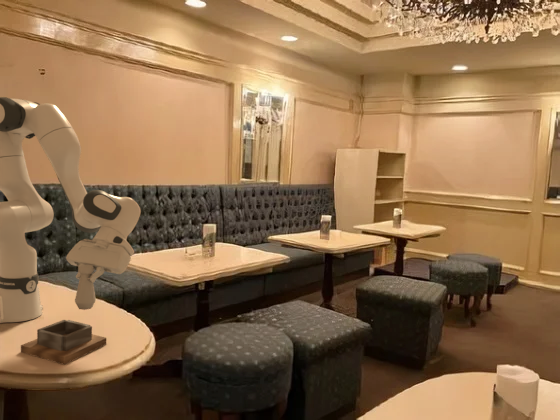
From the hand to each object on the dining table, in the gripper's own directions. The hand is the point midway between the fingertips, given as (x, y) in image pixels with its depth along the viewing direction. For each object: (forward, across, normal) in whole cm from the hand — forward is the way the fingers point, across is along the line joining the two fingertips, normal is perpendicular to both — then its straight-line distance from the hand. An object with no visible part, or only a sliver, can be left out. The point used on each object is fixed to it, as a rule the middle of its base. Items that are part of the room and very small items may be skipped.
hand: (84, 279), depth 145 cm
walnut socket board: (+18, -1, +9) cm, 20 cm away
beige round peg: (+6, 0, +7) cm, 9 cm away
